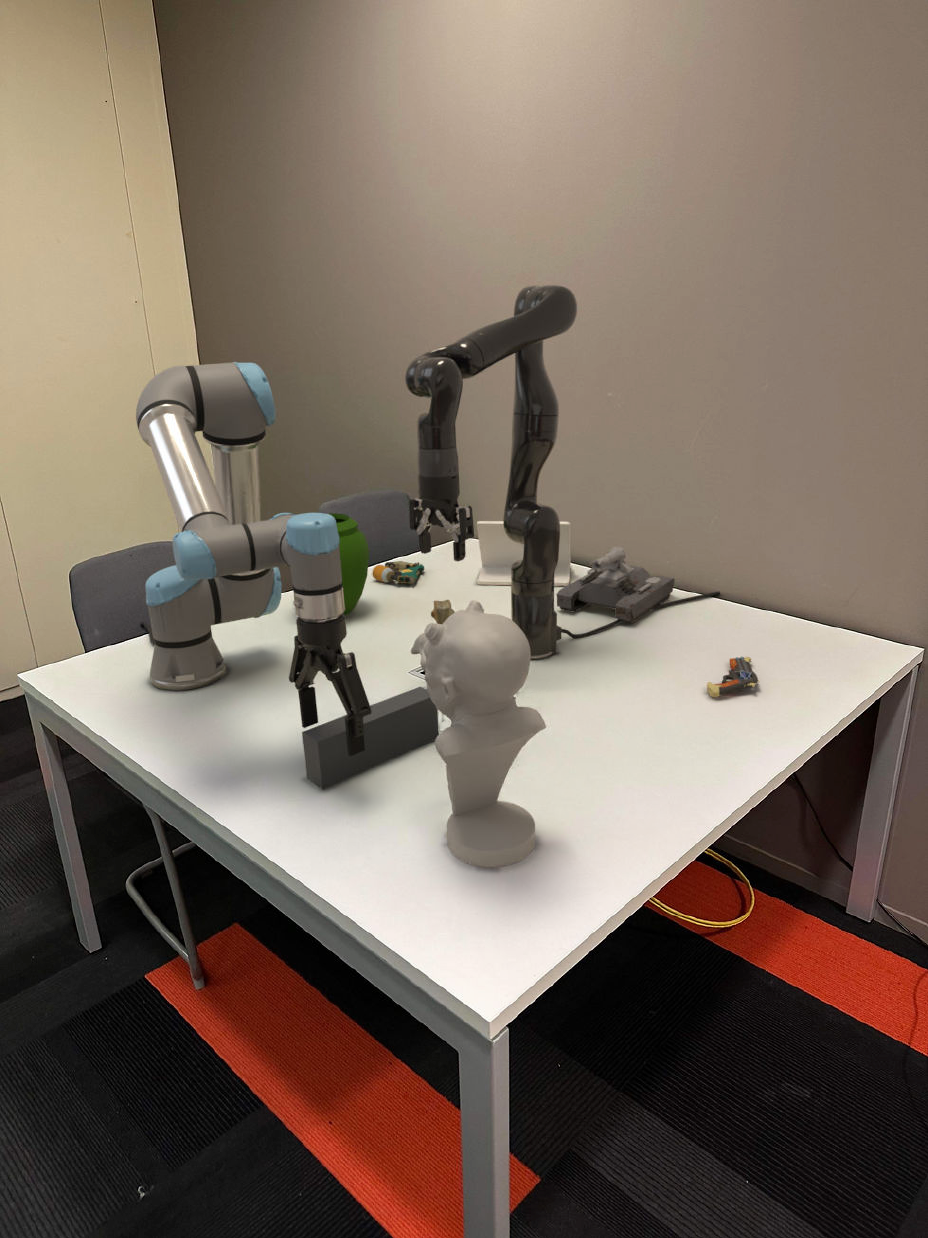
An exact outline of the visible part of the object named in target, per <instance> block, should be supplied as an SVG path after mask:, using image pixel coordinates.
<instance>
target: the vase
mask: <svg viewBox="0 0 928 1238" xmlns="http://www.w3.org/2000/svg"><path fill="white" fill-rule="evenodd" d="M328 514H329V515H331V516H333V517H334V518H335V520H336V524H337V530H338V534H339V538H340V540H339V541H340V542H339V550H340V562H341V575H342V585H343V595H344V604H345V611H344V612H343V614H344V615H345V617H347V616H349V615H350V614H351V613H352V612H353V611H354V610H355V608H356V607H357V605H358V604H359V601H360V599H361V597H362V595H363V592H364V588H365V586H366V581H367V578H368V570H369V561H370V560H369V559H370V548H369V545H368V541H367V537H366V535H365V534H364V533H363V532H362V531H361V530H360V529H359V527H358V524H359V523H358V521H356V520H355V519H353V518H352V517H350V516H349V515H347V514H344V513H335V512H334V513H333V512H331V513H328Z"/></svg>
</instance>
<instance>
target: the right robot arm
mask: <svg viewBox="0 0 928 1238" xmlns="http://www.w3.org/2000/svg"><path fill="white" fill-rule="evenodd" d="M514 301H515V302H514V307H513V316H512V317H509V318H505V319H502V320H499V321H496V322H492V323H490V324H489V323H488V324H487V325H484V326H481V327H479V328H476V329H475V330H473V331H471V332H469V333H467V334H465V335H463V336H462V337H461V338H459V339H457V340H456V341H454V342H453V343H450V344H448V345H445V346H441V347H438V348H436V349H433V350H430V351H428V352H427V351H426V352H425V353H423V354H421V355H419V356H417V357H415V359H413V360H411V362H410V363H409V364H408V366H407V368H406V370H405V374H404V382H405V383H404V384H405V386H406V388H407V389H408V391H409V393H411V394H412V395H414V396H415V397H419V398H421V399H422V398H424V399H430V405H429V408H428V411H427V412H423V413H421V414H420V415H418V417H417V419H416V440H417V442H416V443H417V444H416V445H417V453H416V455H417V457H416V464H417V465H416V466H417V482H418V496H419V497H418V496H417V497H415V498H412V499H409V501H408V503H409V505H408V508H409V511H408V512H409V515H408V516H409V529H410V530H411V531H416V534H417V535H418V546H419V550H420V553H421V554H422V555H423V554H424V555H426V554H429V553H431V552H432V539H431V532H430V531H431V530H432V528H433V526H437V527H440V528H444V529H445V531H446V533H449V534H450V536H451V538H452V540H453V542H452V549H453V551H452V552H453V561H455V562H461V561H463V560H465V558H466V556H467V554H466V551H467V550H466V542H467V540H470V539H472V538H474V537H475V529H474V527H475V526H474V516H473V507H472V506H471V505H465V506H460V504H459V501H458V498H459V496H460V493H461V488H460V487H461V485H460V466H459V465H460V463H459V453H458V447H457V446H458V445H457V428H456V423H457V417H458V412H459V410H460V409H459V408H460V404H461V399H462V394H463V388H464V380H470V379H473V378H476V377H477V376H478V375H480V374H482V373H484V372H485V371H486V370H488V369H489V368H492V367H493V366H495V365H496V364H498V363H499V362H502V361H503V360H505V359H507V358H508V357H511V356H512V355H514V395H513V408H512V421H511V422H512V423H511V425H512V426H511V449H510V450H511V452H510V461H509V463H510V464H509V465H510V466H509V477H508V485H507V491H506V497H505V504H504V510H503V520H502V521H503V524H504V530H505V533H506V535H507V537H508V538H509V539H510V540H512V541H514V542H516V543H519V544H522V545H524V553H523V559H522V560H519V561H516V562H514V563H513V564H512V567H511V585H510V588H511V589H510V597H511V599H510V603H511V604H510V606H511V607H510V609H511V610H510V615H511V617H510V619H511V620H512V621H513V622H514V623H515V624H516V625H517V626H518V627H519V628H520V629H521V630H522V632H523V633H524V634H525V636H526V638H527V640H528V643H529V646H530V652H531V653H530V655H531V656H530V660H540V659H545V658H548V657H550V656H552V655H557V654H558V653H557V650H558V649H557V648H558V647H557V645H558V644H557V643H558V641H561V640H562V634H566V635H567V636H568V637H570V638H572V639H580V638H586V637H590V636H591V635H594V634H597V633H599V632H602V631H605V630H607V629H610V628H612V627H614V626H616V625H618V624H620V623H622V622H623V621H621V620H620V619H616V620H614V621H612V622H610V623H608V624H606V625H602V626H600V627H597V628H594V629H592V630H589V631H587V632H584V633H573V632H571V631H570V630H569V629H566V628H562V627H561V626H559V625H558V613H557V612H556V611H555V586H554V572H555V568H556V566H557V563H558V557H559V542H560V522H561V521H560V517H559V514H558V512H557V511H556V509H554V508H553V507H551V506H549V505H547V504H546V505H545V504H542V503H539V502H538V486H539V478H540V475H541V472H542V470H543V468H544V466H545V464H546V462H547V460H548V458H549V457H550V455H551V453H552V451H553V449H554V447H555V445H556V442H557V438H558V430H559V417H560V406H559V401H558V397H557V393H556V391H555V388H554V386H553V383H552V382H551V379H550V376H549V374H548V372H547V369H546V365H545V360H544V341H546V340H549V339H551V338H555V337H558V336H559V335H563V334H564V333H567V332H568V331H569V330H570V329H571V327H572V326H573V325H574V323H575V321H576V318H577V314H578V303H577V299H576V296H575V294H574V293H573V291H572V290H571V289H570V288H568V287H566V286H564V285H560V284H559V285H558V284H540V285H537V284H536V285H528V286H524V287H522V289H520V291H519V292H518V294H517V296H516V299H515V300H514ZM453 523H454V524H453ZM719 595H721V591H719V590H718V591H713V592H709V593H703V594H700V595H694V596H690V597H685V598H680V599H676V600H671V601H668V602H667V601H666V602H663V603H661V604H659V605H656V606H654V607H653V609H652V610H651V611H654V610H658V609H661V608H665V607H669V606H672V605H673V606H674V605H676V604H677V605H678V604H682V603H686V602H691V601H696V600H701V599H705V598H710V597H714V596H715V597H716V596H719Z"/></svg>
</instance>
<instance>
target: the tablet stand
mask: <svg viewBox="0 0 928 1238" xmlns="http://www.w3.org/2000/svg"><path fill="white" fill-rule="evenodd" d="M476 531H477V537H478V544H479V551H480V557H481V558H480V559H481V570H480V573H479V575H478V577H477V580H476V581H477V582H476V584H478V585H484V586H485V585H486V586H487V585H489V586H490V585H491V586H511V567H512V564H513V563H514V562H516V561H519V560H522V559H523V553H524V545H522V544H519V543H516V542H514V541H512V540H510V539H509V538H508V537H507V535H506V533H505V530H504V524H503V520H477V522H476ZM571 560H572V558H571V522H569V521H560V542H559V557H558V563H557V566H556V568H555V572H554V587H556V586H557V587H566V586H567V585H569V584H570V580H571V579H570V578H571V565H572V564H571Z"/></svg>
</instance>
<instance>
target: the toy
mask: <svg viewBox="0 0 928 1238" xmlns="http://www.w3.org/2000/svg"><path fill="white" fill-rule="evenodd" d="M626 557H627V556H626V551H625V549H624V548H622V547H621V546H614V547H612V548H611V549H610V550H609V552H608V553H607V554H605V555H604V556H601V557H599V558H598V559H597V557H596V558H594V559H593V560H592V561H590V562H589V563H590V564H591V565H592V567H591V568H590V569H589V570H587V573H586V575H584V576H582V577H580V578H578V579H577V580H575V581H573V582H570V583H569V585H567V586H563V587H562V588H560V589H559V590H558V591H557V592H556V607H558V608H559V609H560V610H562V611H566V612H572V613H575V612H577V611H579V610H581V609H582V608H585V607H586V606H588V605H592V606H598V607H602V608H603V607H604V608H609V609H613V610H614V618H615V619H616V620H618V619H620V620H621V621H622V622H626V623H631V624H634V623H635V622H637V621H638V620H640V619H641V618H642V617H644V616H645V615H647V614H648V613H650V612H651V611H653V610H652V609H653V607H654V606H656V605H659V604H663V603H665V602H667V600H669V598H670V596H671V594H672V593H673V591H674V585H675V580H676V579H675V578H673V577H668V576H663V575H656V576H655V577H654V576H651V574H650V573H649V572H648V571H647V570H646V568H644V567H641V566H635V565H629V564H628V563H627V562H626V561H625V559H626Z"/></svg>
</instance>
